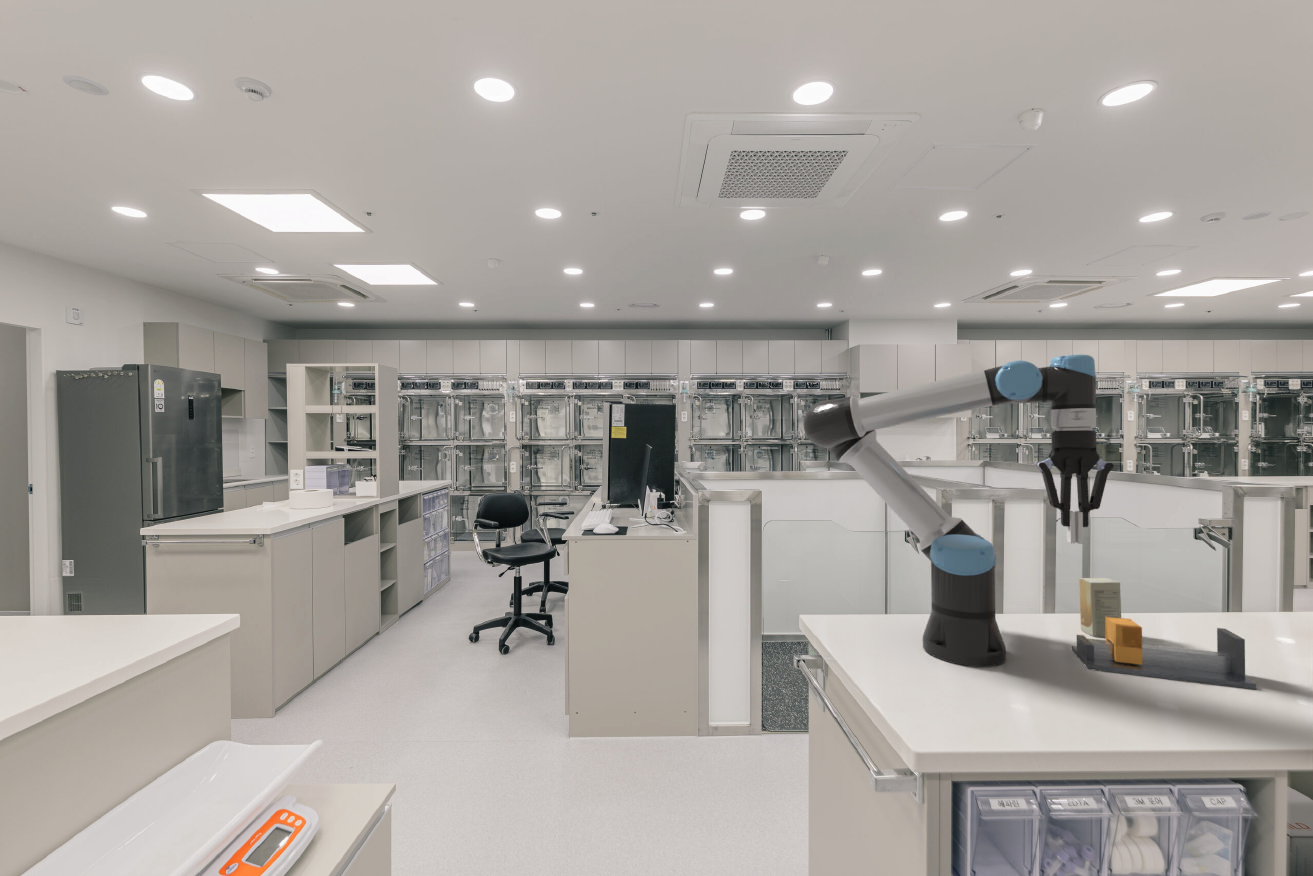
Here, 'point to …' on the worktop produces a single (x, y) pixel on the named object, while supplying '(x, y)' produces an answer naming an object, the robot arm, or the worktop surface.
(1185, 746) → the worktop surface
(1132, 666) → the rail
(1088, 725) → the worktop surface
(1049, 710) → the worktop surface
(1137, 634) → the orange slider block
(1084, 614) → the skincare box
